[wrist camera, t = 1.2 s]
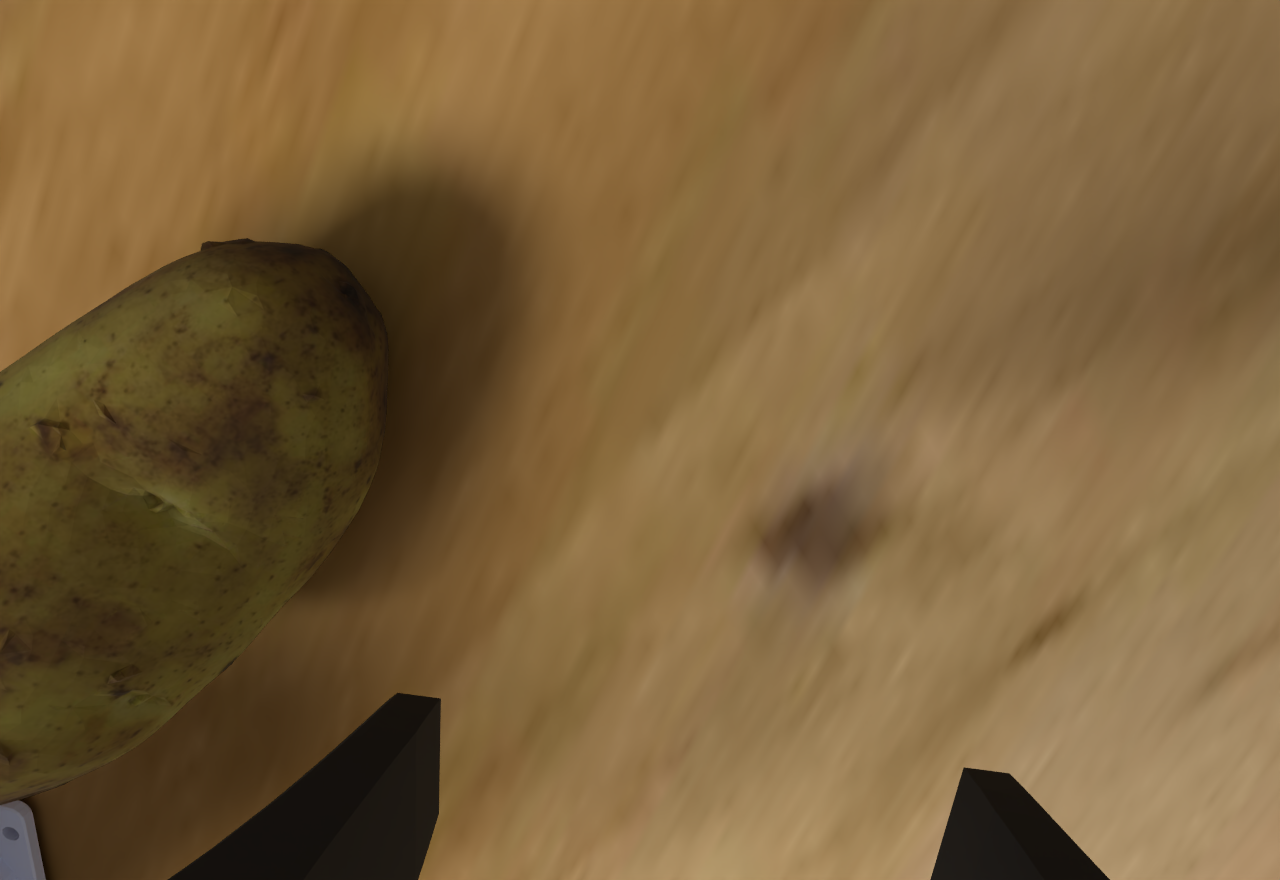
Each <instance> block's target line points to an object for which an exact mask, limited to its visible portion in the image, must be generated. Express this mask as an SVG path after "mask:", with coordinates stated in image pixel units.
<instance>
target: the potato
mask: <svg viewBox="0 0 1280 880" xmlns="http://www.w3.org/2000/svg"><path fill="white" fill-rule="evenodd" d="M388 351H389V349H388V339H387V332H386V329H385V325H384V322H383V318H382V315H381V314H380V312H379V311H378V310H377V308H376V307H375V305H374V303H373V302H372V300H371V299H370V297H369V296H368V294H367V293H366V292H365V290H364V289H363V287H362V286H361V285H360V283H359V282H358V281H357V279H356V278H355V277H354V275H353V274H352V273H351V272H350V270H349V269H348V268H347V267H346V266H345V265H344V264H343V263H341V262H340V261H339V260H337V259H336V258H335V257H333V256H332V255H331V254H329V253H328V252H327V251H325V250H322V249H314V248H310V247H307V246H303V245H300V244H288V243H275V242H255V241H253V240H250V239H248V238H247V239H238V240H232V241H226V242H210V241H208V242H205V243H202V247H201V251H199V252H197V253H194V254H191V255H188V256H186V257H183V258H181V259H179V260H176V261H174V262H172V263H170V264H168V265H166V266H164V267H162V268H160V269H158V270H157V271H155V272H153V273H151V274H150V275H148V276H146V277H144V278H143V279H141V280H139V281H137V282H135V283H134V284H132V285H130V286H129V287H127V288H126V289H124V290H122V291H121V292H119V293H118V294H116V295H115V296H113V297H112V298H110V299H109V300H107V301H106V302H104V303H103V304H101V305H99V306H98V307H96V308H95V309H93V310H91V311H90V312H88V313H87V314H85V315H84V316H82V317H80V318H79V319H77V320H76V321H74V322H73V323H71V324H70V325H68V326H67V327H65V328H64V329H62V330H61V331H59V332H58V333H56V334H55V335H53V336H52V337H50V338H49V339H47V340H46V341H44V342H43V343H42V344H40V345H39V346H37V347H36V348H34V349H33V350H32V351H30V352H29V353H27V354H26V355H25V356H23V357H22V358H20V359H19V360H17V361H16V362H14V363H13V364H11V365H10V366H8V367H7V368H5V369H4V370H2V371H1V372H0V805H3V804H7V803H10V802H13V801H17V800H20V799H23V798H26V797H30V796H33V795H36V794H39V793H41V792H44V791H47V790H50V789H53V788H56V787H58V786H61V785H64V784H66V783H68V782H69V781H71V780H73V779H75V778H77V777H79V776H82V775H84V774H86V773H88V772H91V771H93V770H95V769H97V768H99V767H101V766H104V765H106V764H108V763H110V762H112V761H113V760H115V759H117V758H118V757H120V756H122V755H123V754H125V753H127V752H129V751H130V750H132V749H133V748H135V747H136V746H138V745H139V744H141V743H142V742H144V741H145V740H146V739H148V738H149V737H150V736H151V735H153V734H154V733H155V732H156V731H157V730H159V729H160V728H161V727H162V726H163V725H164V724H165V723H166V722H167V721H168V720H169V719H171V718H172V717H173V716H174V715H175V714H176V713H177V712H178V711H179V710H180V709H181V708H182V707H183V706H184V705H185V704H187V703H188V702H189V701H190V700H191V699H192V698H193V697H194V696H195V695H196V694H197V693H199V692H200V691H201V690H202V689H203V688H204V687H205V686H207V685H208V684H209V683H210V682H211V681H212V680H214V679H215V678H216V677H217V676H218V675H220V674H221V673H222V672H223V671H224V670H226V669H227V668H228V667H229V666H230V665H231V664H232V663H233V662H234V661H235V659H236V658H237V657H238V656H239V655H240V654H241V653H242V652H243V651H244V650H245V649H246V648H247V647H248V646H249V645H250V643H251V642H252V641H253V640H254V639H255V638H256V636H257V635H258V634H259V633H260V632H261V630H262V629H263V628H264V627H265V626H266V625H267V623H268V622H269V621H270V620H271V619H272V618H273V617H274V615H275V614H276V613H277V612H278V611H279V610H280V608H281V607H282V606H283V605H284V604H285V603H286V602H287V601H288V600H289V599H290V598H291V597H292V596H293V595H294V594H295V593H296V592H297V591H298V590H299V589H300V588H301V587H302V586H303V585H304V584H305V583H306V582H307V581H308V580H309V579H310V578H311V577H312V575H313V574H314V573H315V572H316V570H317V569H318V568H319V567H320V565H321V564H322V563H323V562H324V560H325V559H326V558H327V557H328V555H329V554H330V552H331V551H332V550H333V548H334V547H335V546H336V544H337V543H338V541H339V540H340V538H341V537H342V535H343V534H344V532H345V531H346V529H347V528H348V526H349V525H350V523H351V521H352V520H353V518H354V517H355V515H356V514H357V512H358V510H359V509H360V507H361V505H362V502H363V500H364V498H365V496H366V494H367V492H368V490H369V488H370V486H371V483H372V481H373V478H374V475H375V473H376V470H377V468H378V464H379V459H380V454H381V449H382V444H383V439H384V433H385V423H386V412H387V387H388Z"/></svg>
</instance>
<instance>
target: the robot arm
mask: <svg viewBox="0 0 1280 880" xmlns="http://www.w3.org/2000/svg"><path fill="white" fill-rule="evenodd" d="M440 710H441V699H440V698H432V697H425V696H417V695H409V694H402V693H397V694H396V695H394V696H393V697H392V698H390V699H389V700H388V701H387V702H386V703H385V704H383V705H382V706H381V707H380V708H379V709H378V710H377V711H376V712H375V713H374V714H372V715H371V716H370V717H369V718H368V719H367V720H366V721H365V722H364V723H363V724H361V725H360V726H359V727H358V728H357V729H356V730H355V731H354V732H353V733H352V734H350V735H349V736H348V737H347V738H346V739H345V740H344V741H343V742H342V743H340V744H339V745H338V746H337V747H336V748H335V749H334V750H333V751H331V752H330V753H329V754H328V755H327V756H326V757H325V758H324V759H322V760H321V761H320V762H319V763H318V764H316V765H315V766H314V767H313V768H312V769H311V770H309V771H308V772H307V773H306V774H305V775H303V776H302V777H301V778H300V779H299V780H298V781H296V782H295V783H294V784H293V785H292V786H291V787H289V788H288V789H287V790H286V791H285V792H283V793H282V794H281V795H280V796H279V797H277V798H276V799H275V800H274V801H272V802H271V803H270V804H269V805H268V806H266V807H265V808H264V809H262V810H261V811H260V812H258V813H257V814H256V815H255V816H253V817H252V818H251V819H249V820H248V821H247V822H246V823H244V824H243V825H242V826H240V827H239V828H238V829H237V830H235V831H234V832H233V833H231V834H230V835H229V836H227V837H226V838H225V839H224V840H222V841H221V842H220V843H218V844H217V845H216V846H214V847H213V848H212V849H210V850H209V851H208V852H206V853H205V854H203V855H202V856H201V857H199V858H198V859H196V860H195V861H194V862H192V863H191V864H190V865H188V866H187V867H185V868H184V869H182V870H181V871H180V872H178V873H177V874H175V875H174V876H172V877H171V878H170V879H168V880H418V878H419V875H420V872H421V869H422V866H423V863H424V860H425V856H426V853H427V850H428V847H429V844H430V840H431V837H432V834H433V831H434V827H435V824H436V821H437V818H438V814H439V769H440ZM0 880H46V878H45V873H44V868H43V863H42V858H41V853H40V848H39V843H38V838H37V833H36V828H35V823H34V818H33V813H32V811H31V808H30V807H29V806H28V805H27V804H25V803H24V802H22V801H19V800H17V801H13V802H10V803H7V804H3V805H0ZM931 880H1110V879H1109V878H1108V877H1107V876H1106V875H1105V874H1104V873H1103V872H1102V871H1101V870H1100V869H1099V868H1098V867H1097V866H1096V865H1095V864H1094V862H1093V861H1092V860H1091V859H1090V858H1089V857H1088V856H1087V855H1086V854H1085V853H1084V852H1083V851H1082V850H1081V849H1080V848H1079V846H1078V845H1077V844H1076V843H1075V842H1074V841H1073V840H1072V839H1071V838H1070V837H1069V836H1068V835H1067V834H1066V833H1065V831H1064V830H1063V829H1062V828H1061V827H1060V826H1059V825H1058V824H1057V823H1056V822H1055V821H1054V820H1053V819H1052V818H1051V816H1050V815H1049V814H1048V813H1047V812H1046V811H1045V810H1044V809H1043V808H1042V807H1041V806H1040V805H1039V804H1038V803H1037V801H1036V800H1035V799H1034V798H1033V797H1032V796H1031V795H1030V794H1029V793H1028V792H1027V791H1026V790H1025V789H1024V788H1023V787H1022V786H1021V785H1020V784H1019V783H1018V782H1017V781H1016V780H1015V779H1014V778H1013V777H1012V776H1011V775H1010V774H1009V773H1002V772H994V771H987V770H979V769H971V768H964V769H963V772H962V775H961V779H960V782H959V785H958V789H957V792H956V796H955V799H954V802H953V806H952V809H951V812H950V816H949V819H948V822H947V826H946V829H945V833H944V836H943V839H942V843H941V846H940V849H939V853H938V856H937V860H936V863H935V866H934V870H933V873H932V876H931Z"/></svg>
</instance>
